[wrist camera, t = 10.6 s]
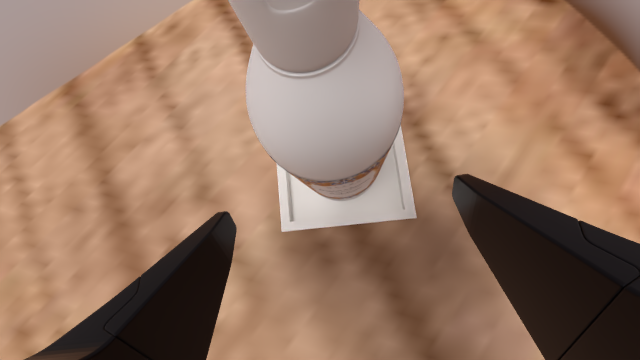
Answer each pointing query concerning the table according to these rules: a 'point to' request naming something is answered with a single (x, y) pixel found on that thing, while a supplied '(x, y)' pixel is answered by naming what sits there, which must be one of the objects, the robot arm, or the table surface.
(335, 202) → the tray
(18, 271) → the table surface
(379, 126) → the bath foam
